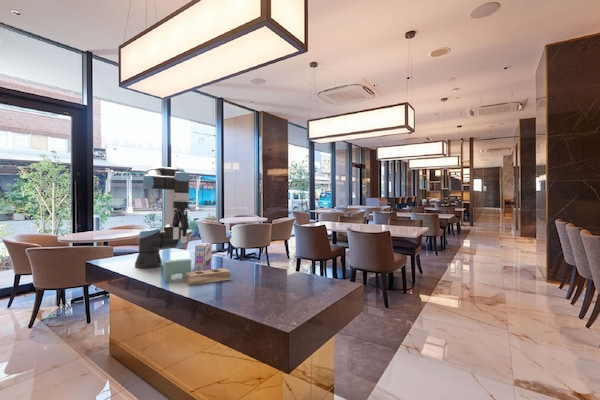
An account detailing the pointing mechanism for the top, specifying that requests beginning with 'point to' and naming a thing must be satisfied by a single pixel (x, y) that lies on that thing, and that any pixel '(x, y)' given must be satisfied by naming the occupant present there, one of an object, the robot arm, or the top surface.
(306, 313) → the top surface
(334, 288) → the top surface
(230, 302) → the top surface
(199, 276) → the wooden block with holes
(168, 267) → the green arch block
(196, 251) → the candy box
